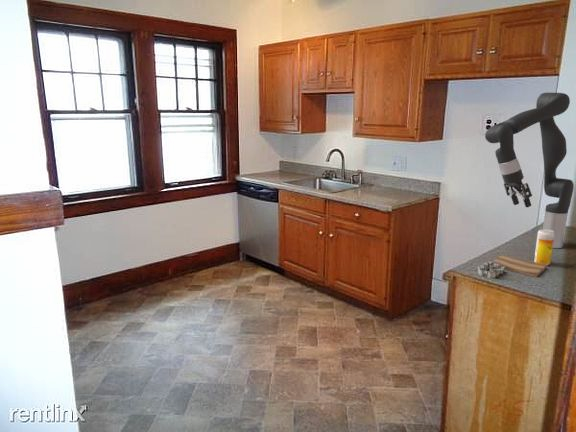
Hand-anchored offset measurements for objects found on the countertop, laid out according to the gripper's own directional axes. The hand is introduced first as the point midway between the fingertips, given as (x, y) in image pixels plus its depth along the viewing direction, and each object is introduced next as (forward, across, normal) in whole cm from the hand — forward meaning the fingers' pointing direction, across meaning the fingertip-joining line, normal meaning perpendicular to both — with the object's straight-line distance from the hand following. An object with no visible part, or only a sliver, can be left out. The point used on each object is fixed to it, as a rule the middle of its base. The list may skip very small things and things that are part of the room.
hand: (522, 205), depth 175 cm
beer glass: (+28, 0, 0) cm, 28 cm away
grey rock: (+19, -8, +26) cm, 34 cm away
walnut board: (+23, -3, +12) cm, 27 cm away
